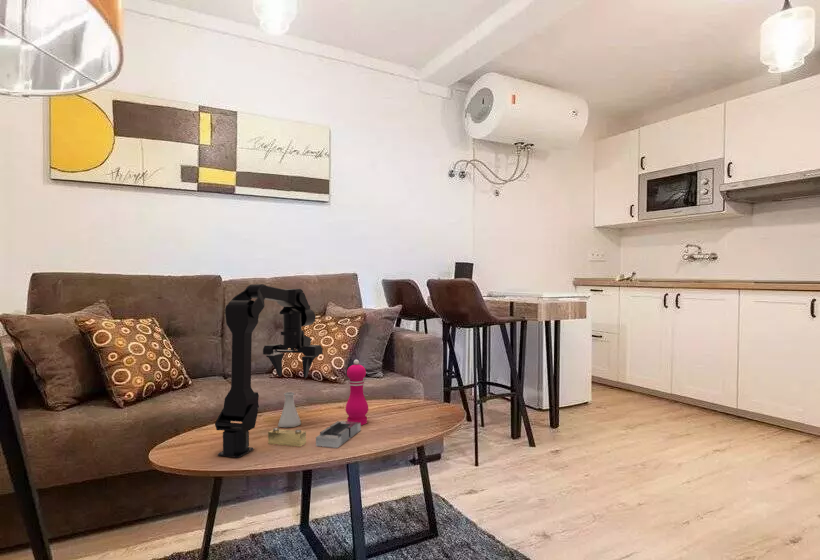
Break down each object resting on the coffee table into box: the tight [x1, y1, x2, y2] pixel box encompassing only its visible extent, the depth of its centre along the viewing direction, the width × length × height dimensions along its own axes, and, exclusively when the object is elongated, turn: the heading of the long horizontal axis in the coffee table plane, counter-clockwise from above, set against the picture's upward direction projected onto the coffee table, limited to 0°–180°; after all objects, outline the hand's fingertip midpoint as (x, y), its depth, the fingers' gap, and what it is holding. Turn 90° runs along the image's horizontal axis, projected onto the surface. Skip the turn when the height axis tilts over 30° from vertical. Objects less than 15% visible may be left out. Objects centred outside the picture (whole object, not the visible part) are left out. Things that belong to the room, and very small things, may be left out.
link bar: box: [267, 427, 307, 448], centre depth 129 cm, size 10×3×4 cm, turn 73°
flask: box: [277, 391, 302, 429], centre depth 147 cm, size 7×7×10 cm
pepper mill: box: [345, 359, 369, 426], centre depth 148 cm, size 7×7×20 cm
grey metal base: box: [315, 420, 362, 449], centre depth 134 cm, size 16×6×3 cm, turn 163°
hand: (292, 376), depth 150 cm, fingers open, 9 cm apart
